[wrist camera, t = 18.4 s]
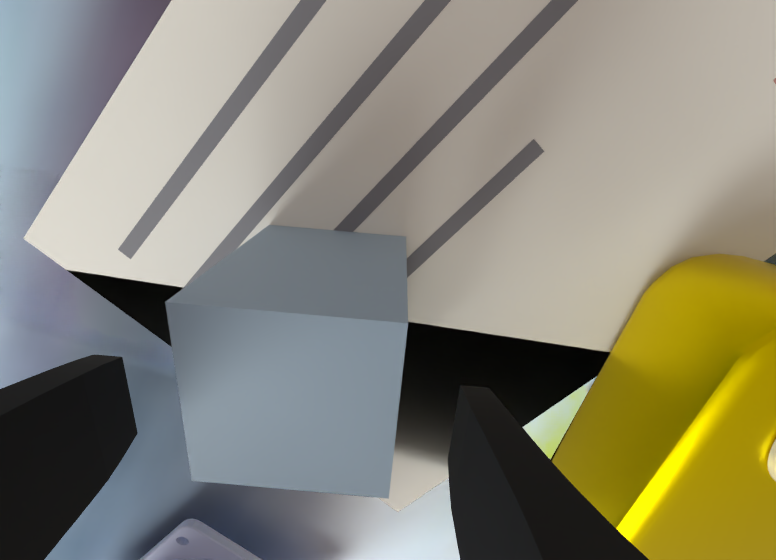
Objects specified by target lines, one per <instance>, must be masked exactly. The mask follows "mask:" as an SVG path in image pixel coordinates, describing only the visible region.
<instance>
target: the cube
mask: <svg viewBox="0 0 776 560" xmlns="http://www.w3.org/2000/svg"><path fill="white" fill-rule="evenodd" d="M165 304H166V311H167V318H168V324H169V331H170V338H171V345H172V352H173V358H174V365H175V372H176V379H177V385H178V392H179V399H180V406H181V412H182V419H183V426H184V433H185V439H186V446H187V453H188V460H189V466H190V473H191V480H192V481H199V482H210V483H221V484H232V485H243V486H255V487H266V488H277V489H288V490H299V491H310V492H321V493H332V494H343V495H354V496H366V497H377V498H388V499H389V491H390V482H391V473H392V464H393V455H394V446H395V437H396V428H397V419H398V410H399V401H400V392H401V383H402V374H403V365H404V356H405V347H406V338H407V329H408V297H407V254H406V237H405V236H393V235H382V234H370V233H359V232H347V231H335V230H324V229H312V228H301V227H289V226H278V225H268V226H267V227H266V228H264V229H263V230H262V231H260V232H259V233H258V234H256V235H255V236H253V237H252V238H251V239H249V240H248V241H247V242H245V243H244V244H243V245H241V246H240V247H239V248H237V249H236V250H235V251H233V252H232V253H231V254H229V255H228V256H227V257H225V258H224V259H222V260H221V261H220V262H218V263H217V264H216V265H214V266H213V267H212V268H210V269H209V270H208V271H206V272H205V273H204V274H202V275H201V276H200V277H198V278H197V279H195V280H194V281H193V282H191V283H190V284H189V285H187V286H186V287H185V288H183V289H182V290H181V291H179V292H178V293H177V294H175V295H174V296H173V297H171V298H170V299H169V300H167V301H166V302H165Z"/></svg>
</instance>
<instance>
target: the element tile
mask: <svg viewBox="0 0 776 560" xmlns="http://www.w3.org/2000/svg"><path fill="white" fill-rule="evenodd" d="M550 460H551V461H552V463H553V464H554V465H555V466H556V467H557V468H558V469H559V470H560V471H561V473H562V474H563V475H564V476H565V477H566V478H567V479H568V480H569V481H570V482H571V483H572V484H573V485H574V487H575V488H576V489H577V490H578V491H579V492H580V493H581V494H582V495H583V496H584V497H585V498H586V499H587V500H588V501H589V502H590V503H591V504H592V505H593V506H594V507H595V508H596V509H597V510H598V511H599V512H600V513H601V514H602V515H603V516H604V517H605V518H606V519H607V520H608V521H609V522H610V523H611V524H612V525H613V526H614V527H615V528H616V529H617V530H618V531H619V532H620V533H621V534H622V535H623V536H624V537H625V538H626V539H627V540H628V541H629V542H631V543H632V544H633V545H634V546H635V547H636V548H637V549H638V550H639V551H640V552H641V553H643V554H644V555H645V556H646V557H647V558H648V559H649V560H776V265H774V264H771V263H767V262H763V261H760V260H756V259H752V258H749V257H745V256H738V255H729V254H712V255H705V256H697V257H691V258H689V259H687V260H685V261H683V262H681V263H678V264H676V265H674V266H672V267H670V268H669V269H668V270H667V271H666V272H665V273H664V274H662V275H661V276H660V277H659V278H658V279H657V280H656V281H654V282H653V283H652V284H651V286H650V287H649V288H648V289H647V290H646V291H645V293H644V294H643V296H642V298H641V299H640V301H639V303H638V305H637V306H636V308H635V310H634V312H633V314H632V315H631V317H630V319H629V321H628V322H627V324H626V326H625V328H624V330H623V331H622V333H621V335H620V337H619V338H618V340H617V342H616V344H615V346H614V347H613V349H612V351H611V353H610V354H609V356H608V358H607V360H606V362H605V363H604V365H603V367H602V369H601V370H600V372H599V374H598V376H597V378H596V379H595V381H594V383H593V385H592V386H591V388H590V390H589V392H588V394H587V395H586V397H585V399H584V401H583V402H582V404H581V406H580V408H579V410H578V411H577V413H576V415H575V417H574V418H573V420H572V422H571V424H570V426H569V427H568V429H567V431H566V433H565V434H564V436H563V438H562V440H561V442H560V443H559V445H558V447H557V449H556V450H555V452H554V454H553V456H552V458H551V459H550Z"/></svg>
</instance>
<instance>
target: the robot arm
mask: <svg viewBox="0 0 776 560" xmlns="http://www.w3.org/2000/svg"><path fill="white" fill-rule="evenodd" d="M136 435H137V428H136V423H135V418H134V413H133V408H132V404H131V399H130V394H129V389H128V384H127V379H126V374H125V369H124V364H123V359H122V357H116V356H104V355H91V356H88V357H85V358H81V359H78V360H75V361H72V362H70V363H67V364H64V365H61V366H59V367H56V368H53V369H51V370H48V371H45V372H43V373H40V374H38V375H35V376H33V377H30V378H27V379H25V380H22V381H20V382H17V383H15V384H12V385H10V386H7V387H5V388H2V389H0V560H44V559H45V558H46V557H47V555H48V554H49V553H50V552H51V550H52V549H53V548H54V547H55V546H56V544H57V543H58V542H59V541H60V539H61V538H62V537H63V536H64V534H65V533H66V532H67V531H68V530H69V528H70V527H71V526H72V525H73V523H74V522H75V521H76V520H77V519H78V517H79V516H80V515H81V514H82V512H83V511H84V510H85V509H86V507H87V506H88V505H89V504H90V502H91V501H92V500H93V499H94V497H95V496H96V495H97V494H98V492H99V491H100V490H101V488H102V487H103V486H104V485H105V483H106V482H107V481H108V479H109V478H110V476H111V475H112V473H113V472H114V470H115V469H116V467H117V466H118V464H119V463H120V461H121V460H122V458H123V456H124V455H125V453H126V451H127V450H128V448H129V446H130V445H131V443H132V441H133V440H134V438H135V436H136ZM448 473H449V487H450V499H451V510H452V516H453V521H454V527H455V533H456V538H457V544H458V549H459V555H460V560H649V559H648V558H647V557H646V556H645V555H644V554H643V553H641V552H640V551H639V550H638V549H637V548H636V547H635V546H634V545H633V544H632V543H631V542H629V541H628V540H627V539H626V538H625V537H624V536H623V535H622V534H621V533H620V532H619V531H618V530H617V529H616V528H615V527H614V526H613V525H612V524H611V523H610V522H609V521H608V520H607V519H606V518H605V517H604V516H603V515H602V514H601V513H600V512H599V511H598V510H597V509H596V508H595V507H594V506H593V505H592V504H591V503H590V502H589V501H588V500H587V499H586V498H585V497H584V496H583V495H582V494H581V493H580V492H579V491H578V490H577V489H576V488H575V487H574V485H573V484H572V483H571V482H570V481H569V480H568V479H567V478H566V477H565V476H564V475H563V474H562V473H561V471H560V470H559V469H558V468H557V467H556V466H555V465H554V464H553V463H552V461H551V460H550V459H549V458H548V457H547V456H546V455H545V454H544V452H543V451H542V450H541V449H540V448H539V447H538V446H537V444H536V443H535V442H534V441H533V440H532V439H531V437H530V436H529V435H528V434H527V433H526V431H525V430H524V429H523V428H522V427H521V425H520V424H519V423H518V422H517V421H516V419H515V418H514V417H513V416H512V415H511V413H510V412H509V411H508V410H507V409H506V407H505V406H504V405H503V404H502V402H501V401H500V400H499V399H498V398H497V396H496V395H495V394H494V393H493V392H492V390H491V389H490V388H488V387H476V386H464V385H460V390H459V396H458V401H457V407H456V413H455V419H454V425H453V431H452V436H451V442H450V448H449V454H448ZM139 560H262V559H261V558H259V557H257V556H256V555H254V554H252V553H251V552H249V551H248V550H246V549H244V548H243V547H241V546H240V545H238V544H236V543H235V542H233V541H232V540H230V539H228V538H227V537H225V536H223V535H222V534H220V533H219V532H217V531H215V530H214V529H212V528H211V527H209V526H207V525H206V524H204V523H203V522H201V521H199V520H197V519H186V520H185V521H183V522H182V523H181V524H179V525H178V526H177V527H176V528H175V529H174V530H173V531H171V532H170V533H169V534H168V535H167V536H166V537H165V538H163V539H162V540H161V541H160V542H159V543H158V544H157V545H155V546H154V547H153V548H152V549H151V550H150V551H149V552H147V553H146V554H145V555H144V556H143V557H142V558H141V559H139Z"/></svg>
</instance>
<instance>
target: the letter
mask: <svg viewBox="0 0 776 560" xmlns="http://www.w3.org/2000/svg"><path fill="white" fill-rule="evenodd" d="M268 225H278V226H289V227H301V228H312V229H324V230H335V231H347V232H359V233H370V234H382V235H393V236H405V237H406V254H407V297H408V329H407V338H406V347H405V356H404V365H403V374H402V383H401V392H400V401H399V410H398V419H397V428H396V437H395V446H394V455H393V464H392V473H391V482H390V491H389V499H388V498H379V499H380V500H382V501H383V502H384V503H386V504H387V505H388V506H390V507H391V508H392V509H394V510H395V511H397V512H399V511H401V510H402V509H403V508H405V507H406V506H408V505H409V504H411V503H412V502H414V501H415V500H417V499H418V498H420V497H421V496H422V495H424V494H425V493H427V492H428V491H430V490H431V489H433V488H434V487H436V486H437V485H438V484H440V483H441V482H443V481H444V480H446V479H447V478H449V473H448V454H449V448H450V442H451V436H452V431H453V425H454V419H455V413H456V407H457V401H458V396H459V390H460V385H464V386H476V387H488V388H490V389H491V390H492V392H493V393H494V394H495V395H496V396H497V398H498V399H499V400H500V401H501V402H502V404H503V405H504V406H505V407H506V409H507V410H508V411H509V412H510V413H511V415H512V416H513V417H514V418H515V419H516V421H517V422H518V423H519V424H520V425H521V427H523V426H525V425H526V424H528V423H529V422H530V421H532V420H533V419H535V418H536V417H538V416H539V415H541V414H542V413H544V412H545V411H546V410H548V409H549V408H551V407H552V406H554V405H555V404H557V403H558V402H560V401H561V400H563V399H564V398H565V397H567V396H568V395H570V394H571V393H573V392H574V391H576V390H577V389H579V388H580V387H582V386H583V385H584V384H586V383H587V382H589V381H590V380H592V379H593V378H595V377H596V376H598V374H599V372H600V370H601V369H602V367H603V365H604V363H605V362H606V360H607V358H608V356H609V354H610V353H611V351H612V349H613V347H614V346H615V344H616V342H617V340H618V338H619V337H620V335H621V333H622V331H623V330H624V328H625V326H626V324H627V322H628V321H629V319H630V317H631V315H632V314H633V312H634V310H635V308H636V306H637V305H638V303H639V301H640V299H641V298H642V296H643V294H644V293H645V291H646V290H647V289H648V288H649V287H650V286H651V284H652V283H653V282H654V281H656V280H657V279H658V278H659V277H660V276H661V275H662V274H664V273H665V272H666V271H667V270H668V269H669V268H670V267H672V266H674V265H676V264H678V263H681V262H683V261H685V260H687V259H689V258H691V257H697V256H705V255H712V254H729V255H738V256H745V257H749V258H752V259H756V260H760V261H763V262H764V261H765V260H767V259H768V258H770V257H771V256H773V255H774V254H776V0H172V1H171V2H170V4H169V5H168V7H167V9H166V10H165V12H164V13H163V15H162V17H161V18H160V20H159V22H158V23H157V25H156V26H155V28H154V30H153V31H152V33H151V34H150V36H149V38H148V39H147V41H146V42H145V44H144V46H143V47H142V49H141V50H140V52H139V54H138V55H137V57H136V58H135V60H134V62H133V63H132V65H131V66H130V68H129V70H128V71H127V73H126V75H125V76H124V78H123V79H122V81H121V83H120V84H119V86H118V87H117V89H116V91H115V92H114V94H113V95H112V97H111V99H110V100H109V102H108V103H107V105H106V107H105V108H104V110H103V111H102V113H101V115H100V116H99V118H98V120H97V121H96V123H95V124H94V126H93V128H92V129H91V131H90V132H89V134H88V136H87V137H86V139H85V140H84V142H83V144H82V145H81V147H80V148H79V150H78V152H77V153H76V155H75V156H74V158H73V160H72V161H71V163H70V164H69V166H68V168H67V169H66V171H65V173H64V174H63V176H62V177H61V179H60V181H59V182H58V184H57V185H56V187H55V189H54V190H53V192H52V193H51V195H50V197H49V198H48V200H47V201H46V203H45V205H44V206H43V208H42V209H41V211H40V213H39V214H38V216H37V217H36V219H35V221H34V222H33V224H32V226H31V227H30V229H29V230H28V232H27V234H26V235H25V237H24V239H25V240H26V241H28V242H29V243H30V244H32V245H33V246H34V247H36V248H37V249H39V250H40V251H41V252H43V253H44V254H45V255H47V256H48V257H49V258H51V259H52V260H54V261H55V262H56V263H58V264H59V265H60V266H62V267H63V268H65V269H66V270H67V271H69V272H70V273H71V274H73V275H74V276H75V277H77V278H78V279H80V280H81V281H82V282H84V283H85V284H86V285H88V286H89V287H90V288H92V289H93V290H95V291H96V292H97V293H99V294H100V295H101V296H103V297H104V298H106V299H107V300H108V301H110V302H111V303H112V304H114V305H115V306H116V307H118V308H119V309H121V310H122V311H123V312H125V313H126V314H127V315H129V316H130V317H131V318H133V319H134V320H136V321H137V322H138V323H140V324H141V325H142V326H144V327H145V328H147V329H148V330H149V331H151V332H152V333H153V334H155V335H156V336H157V337H159V338H160V339H162V340H163V341H164V342H166V343H167V344H168V345H170V346H171V347H172V345H171V338H170V331H169V324H168V318H167V311H166V304H165V302H166V301H167V300H169V299H170V298H171V297H173V296H174V295H175V294H177V293H178V292H179V291H181V290H182V289H183V288H185V287H186V286H187V285H189V284H190V283H191V282H193V281H194V280H195V279H197V278H198V277H200V276H201V275H202V274H204V273H205V272H206V271H208V270H209V269H210V268H212V267H213V266H214V265H216V264H217V263H218V262H220V261H221V260H222V259H224V258H225V257H227V256H228V255H229V254H231V253H232V252H233V251H235V250H236V249H237V248H239V247H240V246H241V245H243V244H244V243H245V242H247V241H248V240H249V239H251V238H252V237H253V236H255V235H256V234H258V233H259V232H260V231H262V230H263V229H264V228H266V227H267V226H268Z"/></svg>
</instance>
